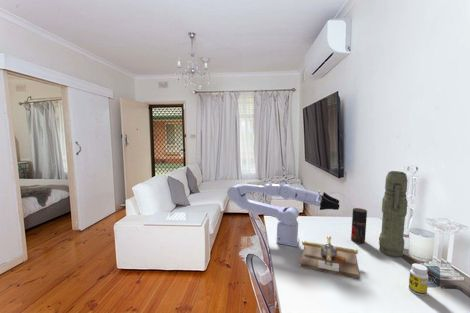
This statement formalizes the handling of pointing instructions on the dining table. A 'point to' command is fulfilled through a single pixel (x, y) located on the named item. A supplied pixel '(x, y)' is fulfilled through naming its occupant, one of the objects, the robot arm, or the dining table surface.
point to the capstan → (331, 250)
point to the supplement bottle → (418, 279)
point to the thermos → (393, 214)
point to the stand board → (314, 255)
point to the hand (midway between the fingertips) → (339, 205)
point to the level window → (328, 266)
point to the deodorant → (358, 225)
